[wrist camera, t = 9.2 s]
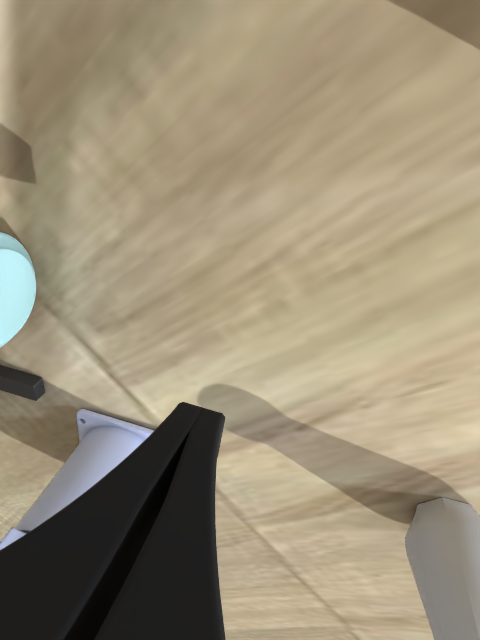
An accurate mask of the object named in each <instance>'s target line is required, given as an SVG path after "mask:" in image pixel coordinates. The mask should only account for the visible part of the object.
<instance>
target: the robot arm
mask: <svg viewBox="0 0 480 640" xmlns="http://www.w3.org/2000/svg"><path fill="white" fill-rule="evenodd" d="M76 416H77V424H78V432H79V440H80V444H79V445H78V446H77V447H76V449H75V450H74V451H73V453H72V454H71V455H70V457H69V458H68V459H67V461H66V462H65V463H64V465H63V466H62V467H61V468H60V470H59V471H58V472H57V474H56V475H55V476H54V478H53V479H52V480H51V482H50V483H49V484H48V486H47V487H46V488H45V489H44V491H43V492H42V493H41V495H40V496H39V497H38V499H37V500H36V501H35V503H34V504H33V505H32V507H31V508H30V509H29V510H28V512H27V513H26V514H25V516H24V517H23V518H22V520H21V521H20V522H19V524H18V525H17V526H16V528H11V529H10V530H9V531H8V533H7V534H6V535H5V537H4V538H3V539H2V541H1V542H0V640H225V632H224V623H223V615H222V606H221V598H220V589H219V577H218V565H217V550H216V529H215V482H216V463H217V457H218V453H219V447H220V442H221V437H222V432H223V427H224V422H225V416H224V415H223V414H222V413H219V412H216V411H212V410H209V409H205V408H202V407H199V406H195V405H192V404H188V403H185V402H182V403H179V404H178V406H177V407H176V408H175V409H174V410H173V411H172V413H171V414H170V415H169V416H168V417H167V418H166V419H165V420H164V421H163V422H162V423H161V424H160V426H159V427H158V428H157V429H156V430H155V431H154V430H151V429H148V428H144V427H141V426H138V425H135V424H131V423H128V422H125V421H122V420H118V419H115V418H112V417H109V416H105V415H102V414H99V413H95V412H92V411H89V410H86V409H80V410H79V411H78V412H77V413H76Z"/></svg>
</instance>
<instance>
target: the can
mask: <svg viewBox="0 0 480 640" xmlns="http://www.w3.org/2000/svg"><path fill="white" fill-rule="evenodd" d="M35 296H36V280H35V272H34V268H33V264H32V261H31V259H30V256H29V254H28V253H27V251H26V249H25V248H24V247H23V246H22V244H21V243H20V242H19V241H17V240H16V239H15V238H13V237H11V236H10V235H7V234H5V233H1V232H0V347H2V346H3V345H5V344H6V343H7V342H8V341H9V340H11V339H12V338H13V337H14V336H15V334H17V332H18V331H19V330H20V329H21V328H22V327H23V325H24V324H25V322H26V321H27V319H28V317H29V315H30V313H31V311H32V308H33V305H34V301H35Z"/></svg>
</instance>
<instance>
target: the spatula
mask: <svg viewBox="0 0 480 640" xmlns="http://www.w3.org/2000/svg"><path fill="white" fill-rule="evenodd" d="M0 390H2V391H6V392H9V393H12V394H15V395H19V396H22V397H25V398H28V399H31V400H35V401H37V400H38V399H39V398H40V397H41V396H42V395H43V394H44V393H45V391H44V386H43V380H42V378H40V377H37V376H34V375H31V374H27V373H24V372H21V371H17V370H14V369H11V368H7V367H4V366H1V365H0Z"/></svg>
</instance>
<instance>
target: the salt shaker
mask: <svg viewBox="0 0 480 640" xmlns="http://www.w3.org/2000/svg"><path fill="white" fill-rule="evenodd" d="M405 546H406V551H407V556H408V559H409V563H410V566H411V569H412V572H413V575H414V578H415V581H416V584H417V587H418V590H419V593H420V596H421V599H422V602H423V605H424V608H425V611H426V615H427V618H428V621H429V624H430V627H431V630H432V633H433V636H434V639H435V640H480V515H479V514H478V513H477V512H476V510H475V509H474V508H473V507H472V506H471V505H469V504H466V503H462V502H458V501H454V500H451V499H447V498H443V497H442V498H439V499H435V500H432V501H428V502H425V503H421V504H418V505H417V508H416V513H415V515H414V518H413V520H412V523H411V525H410V527H409V530H408V532H407V535H406V537H405Z"/></svg>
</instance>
